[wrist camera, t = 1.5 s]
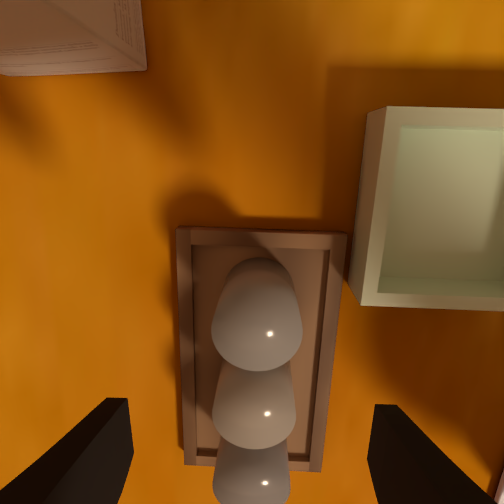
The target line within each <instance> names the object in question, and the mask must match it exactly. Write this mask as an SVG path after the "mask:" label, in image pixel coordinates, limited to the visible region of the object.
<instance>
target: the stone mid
mask: <svg viewBox="0 0 504 504" xmlns="http://www.w3.org/2000/svg"><path fill="white" fill-rule="evenodd" d="M212 419H213V423H214V425H215V428H216V429H217V431H218V432H219V433H220V435H221V436H222V437H223V438H224V439H226V440H227V441H228V442H230V443H232V444H234V445H236V446H239V447H242V448H246V449H265V448H269V447H272V446H275V445H277V444H279V443H280V442H282V441H283V440H284V439H286V438H287V437H288V436H289V434H290V433H291V432H292V430H293V428H294V425H295V422H296V409H295V400H294V392H293V383H292V375H291V366H290V360H289V361H287V362H286V363H285V364H283V365H281V366H279V367H277V368H274V369H271V370H267V371H249V370H244V369H241V368H238V367H236V366H234V365H232V364H231V363H229V362H228V361H227V360H225V359H224V358H223V360H222V365H221V370H220V374H219V379H218V384H217V389H216V394H215V399H214V404H213V409H212Z"/></svg>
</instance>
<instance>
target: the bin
mask: <svg viewBox="0 0 504 504" xmlns="http://www.w3.org/2000/svg"><path fill="white" fill-rule="evenodd" d="M347 284H348V285H349V287H350V289H351V290H352V292H353V294H354V295H355V297H356V299H357V300H358V302H359V304H360V305H361V306H384V307H408V308H433V309H457V310H481V311H504V109H484V108H445V107H405V106H386V107H383V108H380V109H377V110H374V111H372V112H369V113H367V122H366V130H365V139H364V147H363V156H362V164H361V173H360V181H359V190H358V198H357V207H356V215H355V224H354V232H353V241H352V249H351V258H350V266H349V275H348V283H347Z"/></svg>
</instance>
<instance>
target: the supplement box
mask: <svg viewBox="0 0 504 504" xmlns="http://www.w3.org/2000/svg"><path fill="white" fill-rule="evenodd" d="M145 70H147V59H146V50H145V39H144V30H143V21H142V10H141V0H0V74H3V75H6V76H39V75H63V74H84V73H104V72H124V71H145Z"/></svg>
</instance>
